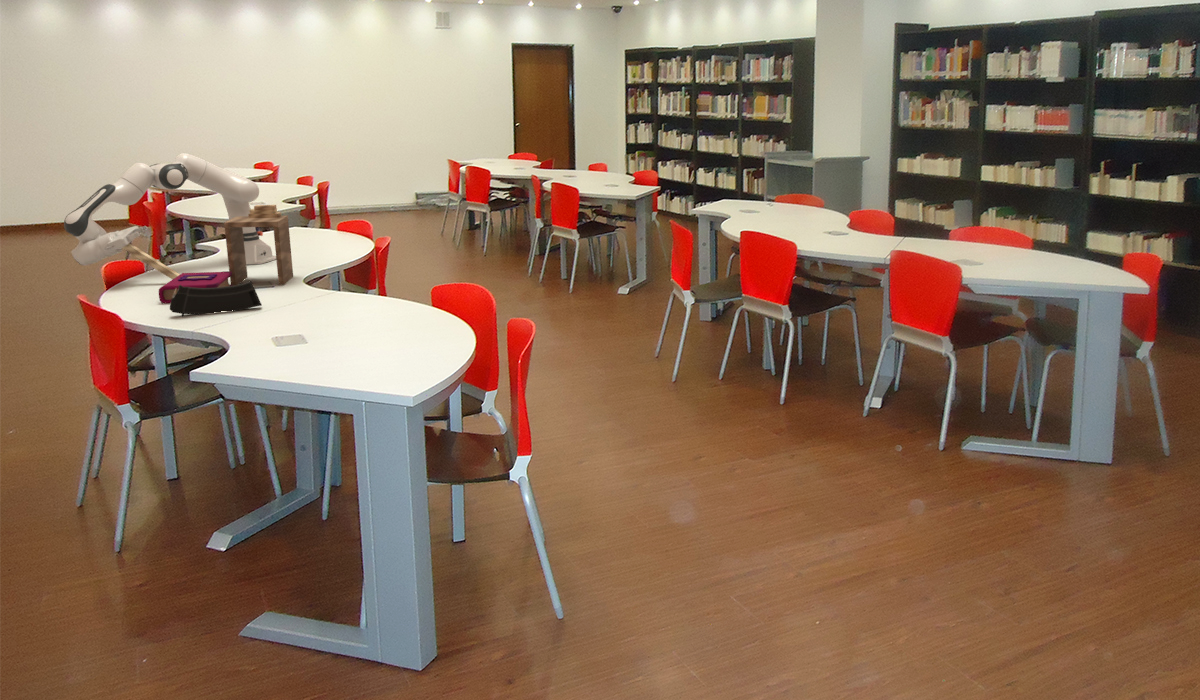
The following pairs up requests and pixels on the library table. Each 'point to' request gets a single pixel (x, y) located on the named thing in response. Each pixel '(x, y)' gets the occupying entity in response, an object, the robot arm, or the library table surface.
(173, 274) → the batten
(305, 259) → the library table surface
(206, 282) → the book
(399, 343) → the library table surface
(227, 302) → the magazine
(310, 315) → the library table surface
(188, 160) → the robot arm
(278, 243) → the rack
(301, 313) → the library table surface
